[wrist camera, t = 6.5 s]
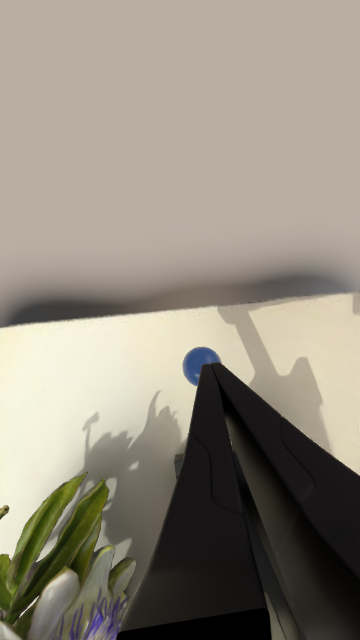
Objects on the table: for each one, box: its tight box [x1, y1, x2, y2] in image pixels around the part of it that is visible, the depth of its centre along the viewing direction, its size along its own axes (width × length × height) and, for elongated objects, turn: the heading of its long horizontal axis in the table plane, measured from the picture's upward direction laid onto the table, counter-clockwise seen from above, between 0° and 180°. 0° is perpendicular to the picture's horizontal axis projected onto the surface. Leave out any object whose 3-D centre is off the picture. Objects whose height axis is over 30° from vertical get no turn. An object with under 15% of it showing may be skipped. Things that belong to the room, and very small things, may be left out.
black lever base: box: [174, 446, 307, 640], centre depth 10 cm, size 10×7×10 cm
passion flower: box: [0, 472, 136, 640], centre depth 11 cm, size 11×11×12 cm
